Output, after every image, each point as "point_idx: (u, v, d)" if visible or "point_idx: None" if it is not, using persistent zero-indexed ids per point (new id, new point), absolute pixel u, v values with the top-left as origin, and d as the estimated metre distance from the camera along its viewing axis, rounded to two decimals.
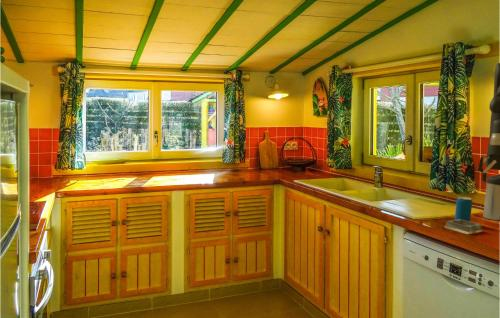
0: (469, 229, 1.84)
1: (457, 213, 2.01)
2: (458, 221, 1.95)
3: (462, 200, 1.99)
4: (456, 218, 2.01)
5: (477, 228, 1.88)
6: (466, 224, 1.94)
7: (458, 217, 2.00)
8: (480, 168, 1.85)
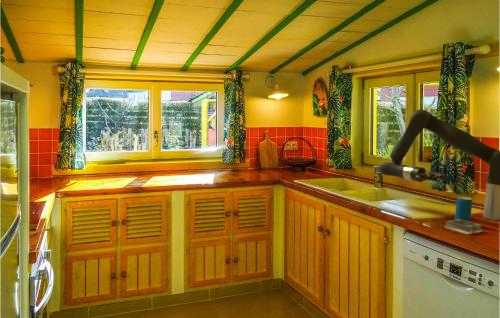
0: (469, 229, 1.84)
1: (457, 213, 2.01)
2: (458, 221, 1.95)
3: (462, 200, 1.99)
4: (456, 218, 2.01)
5: (477, 228, 1.88)
6: (466, 224, 1.94)
7: (458, 217, 2.00)
8: None
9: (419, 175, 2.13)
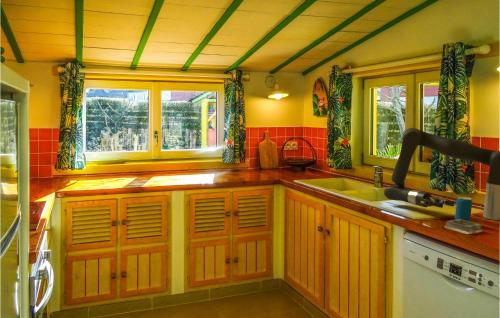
0: (469, 229, 1.84)
1: (457, 213, 2.01)
2: (458, 221, 1.95)
3: (462, 200, 1.99)
4: (456, 218, 2.01)
5: (477, 228, 1.88)
6: (466, 224, 1.94)
7: (458, 217, 2.00)
8: None
9: (424, 201, 2.11)
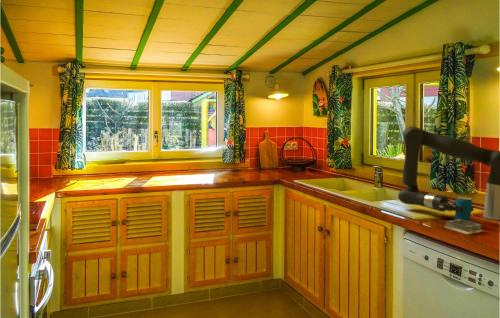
0: (469, 229, 1.84)
1: (457, 213, 2.01)
2: (458, 221, 1.95)
3: (462, 200, 1.99)
4: (456, 218, 2.01)
5: (477, 228, 1.88)
6: (466, 224, 1.94)
7: (458, 217, 2.00)
8: None
9: (444, 205, 2.02)
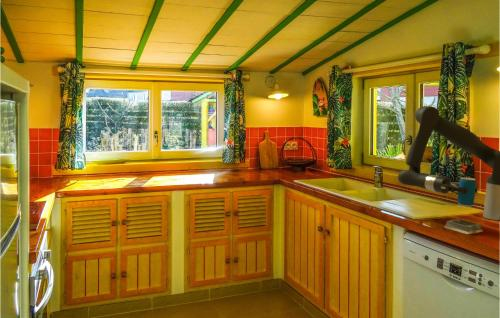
0: (469, 229, 1.84)
1: (460, 194, 1.88)
2: (458, 221, 1.95)
3: (465, 180, 1.86)
4: (459, 200, 1.89)
5: (477, 228, 1.88)
6: (466, 224, 1.94)
7: (461, 199, 1.88)
8: None
9: (446, 186, 1.90)
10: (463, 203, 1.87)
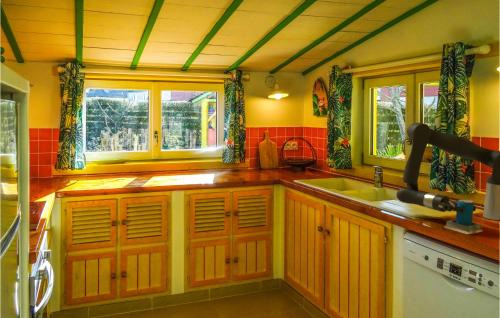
0: (469, 229, 1.84)
1: (458, 217, 1.89)
2: None
3: (463, 203, 1.88)
4: (457, 222, 1.90)
5: (477, 228, 1.88)
6: None
7: (459, 221, 1.89)
8: None
9: (443, 205, 1.91)
10: None
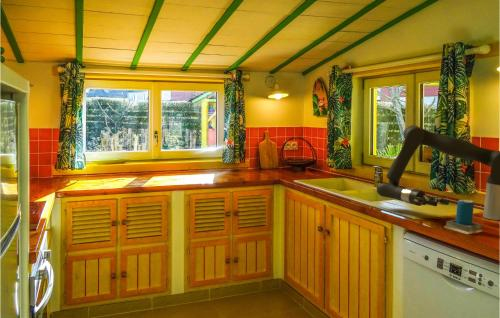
0: (469, 229, 1.84)
1: (458, 217, 1.89)
2: None
3: (463, 203, 1.88)
4: (457, 222, 1.90)
5: (477, 228, 1.88)
6: None
7: (459, 221, 1.89)
8: None
9: (418, 199, 2.02)
10: None
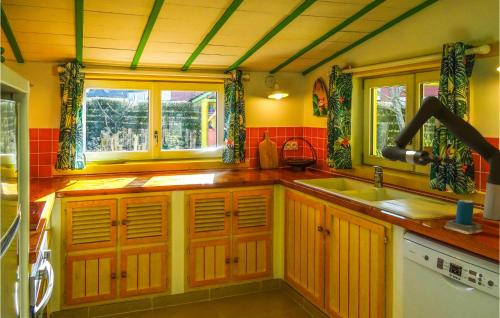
0: (469, 229, 1.84)
1: (458, 217, 1.89)
2: None
3: (463, 203, 1.88)
4: (457, 222, 1.90)
5: (477, 228, 1.88)
6: None
7: (459, 221, 1.89)
8: None
9: (422, 158, 2.07)
10: None
